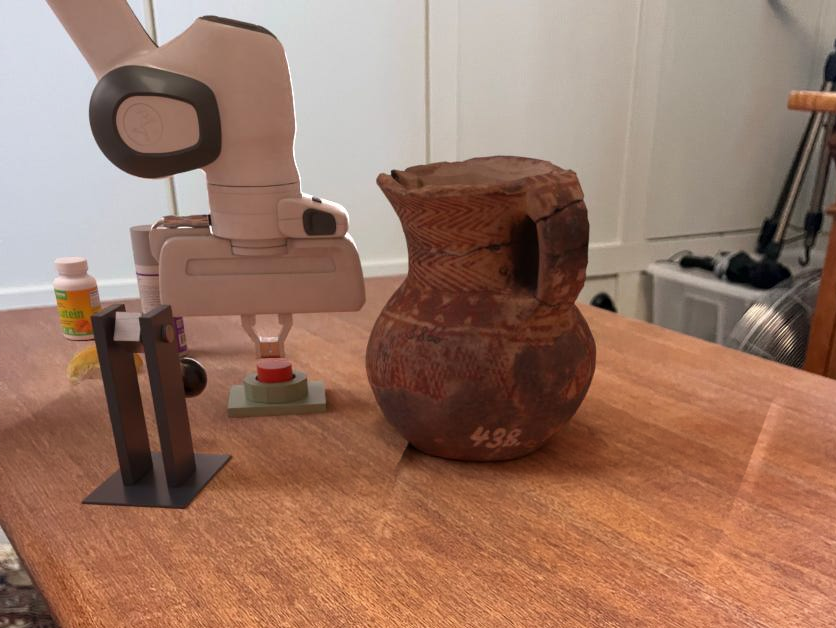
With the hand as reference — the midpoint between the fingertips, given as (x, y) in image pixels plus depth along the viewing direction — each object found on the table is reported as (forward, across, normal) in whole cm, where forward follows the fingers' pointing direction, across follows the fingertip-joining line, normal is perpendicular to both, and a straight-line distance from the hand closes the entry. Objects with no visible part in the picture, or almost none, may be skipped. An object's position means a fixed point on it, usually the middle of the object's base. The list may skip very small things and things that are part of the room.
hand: (271, 357), depth 105 cm
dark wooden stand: (+6, -10, -20) cm, 23 cm away
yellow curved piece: (+6, -20, +16) cm, 26 cm away
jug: (+6, +20, -11) cm, 24 cm away
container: (+6, -14, +26) cm, 30 cm away
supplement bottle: (+6, -26, +37) cm, 46 cm away
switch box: (+6, 0, 0) cm, 6 cm away
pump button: (+3, 0, 0) cm, 3 cm away
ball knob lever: (-3, -9, -17) cm, 19 cm away
